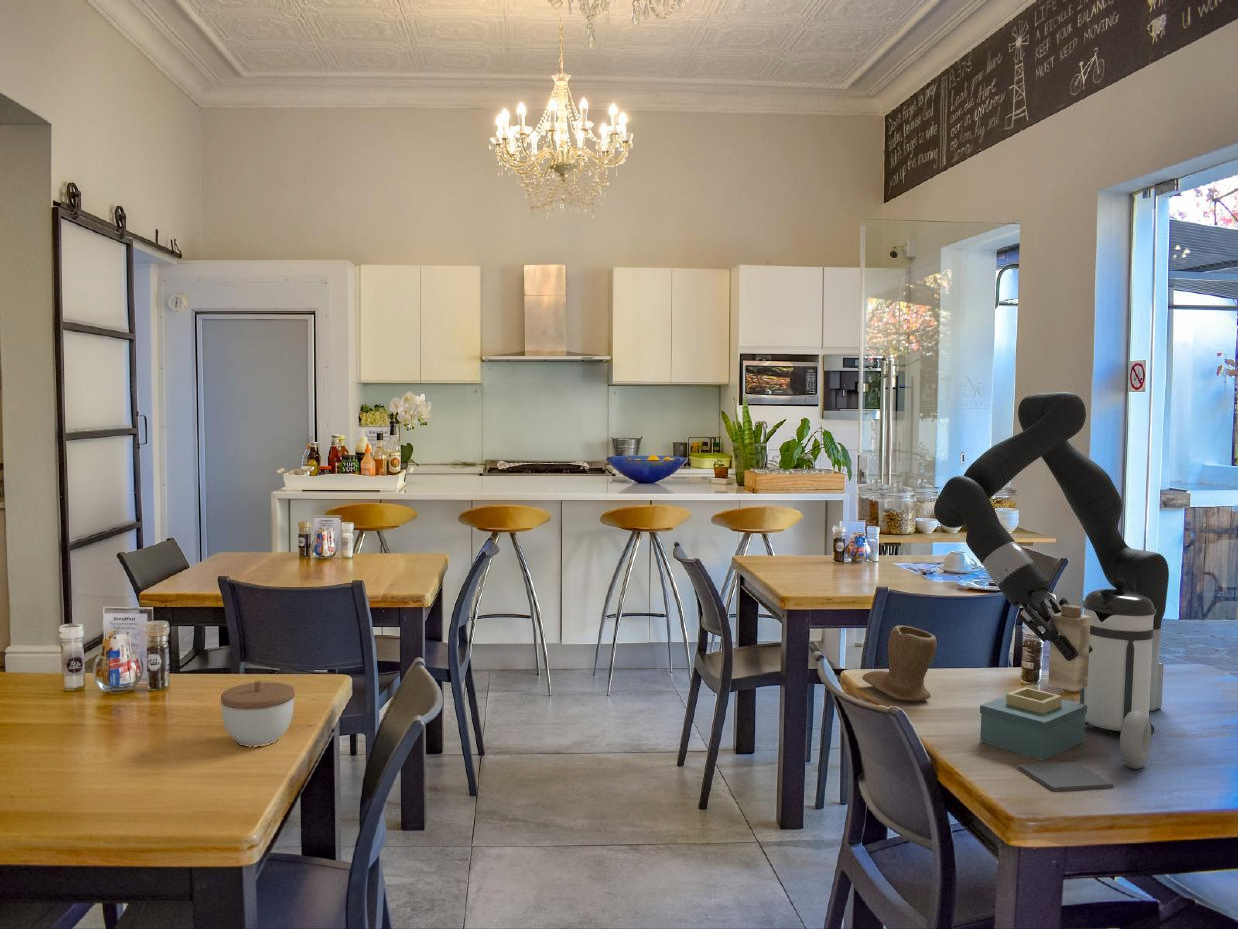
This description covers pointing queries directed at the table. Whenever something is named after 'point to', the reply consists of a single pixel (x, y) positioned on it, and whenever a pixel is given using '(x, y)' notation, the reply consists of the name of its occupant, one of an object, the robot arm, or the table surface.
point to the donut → (1135, 739)
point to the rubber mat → (1065, 776)
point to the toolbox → (1033, 723)
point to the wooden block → (1078, 634)
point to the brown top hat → (905, 664)
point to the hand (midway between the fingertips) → (1080, 655)
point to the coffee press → (1118, 655)
